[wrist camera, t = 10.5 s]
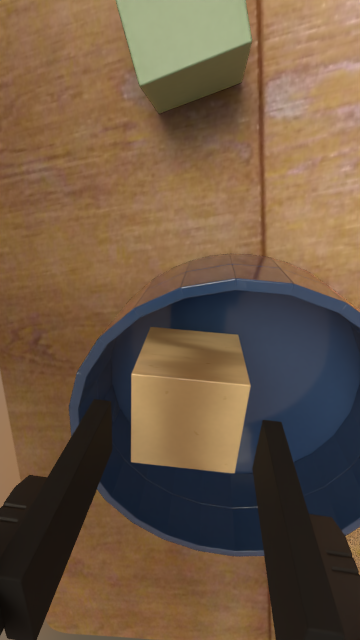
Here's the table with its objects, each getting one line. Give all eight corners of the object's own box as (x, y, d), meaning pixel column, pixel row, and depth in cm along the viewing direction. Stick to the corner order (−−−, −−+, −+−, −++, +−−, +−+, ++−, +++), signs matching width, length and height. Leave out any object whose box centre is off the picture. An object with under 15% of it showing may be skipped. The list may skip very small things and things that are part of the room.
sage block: (158, 114, 18) (139, 86, 14) (130, 9, 16) (97, -63, 12) (242, 82, 17) (252, 41, 13) (221, -33, 15) (224, -129, 11)
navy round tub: (109, 458, 29) (79, 533, 23) (103, 241, 21) (54, 261, 15) (327, 487, 28) (361, 576, 21) (405, 267, 20) (497, 301, 13)
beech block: (148, 398, 19) (130, 462, 15) (150, 326, 17) (131, 373, 13) (227, 406, 19) (234, 474, 14) (238, 334, 17) (251, 385, 13)
